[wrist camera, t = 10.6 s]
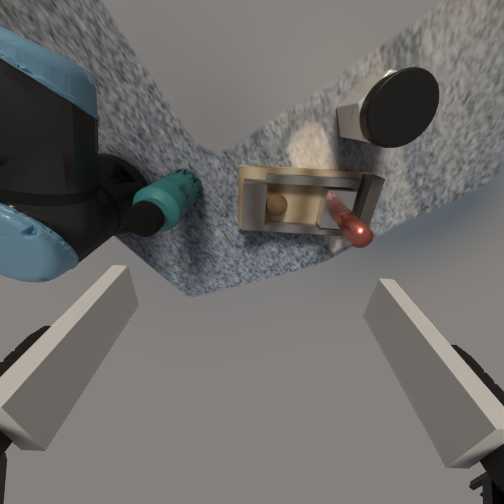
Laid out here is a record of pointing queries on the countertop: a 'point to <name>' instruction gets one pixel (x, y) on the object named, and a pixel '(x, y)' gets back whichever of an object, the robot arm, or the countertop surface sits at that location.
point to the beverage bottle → (163, 203)
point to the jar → (389, 108)
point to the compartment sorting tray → (300, 197)
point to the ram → (342, 215)
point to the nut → (276, 205)
